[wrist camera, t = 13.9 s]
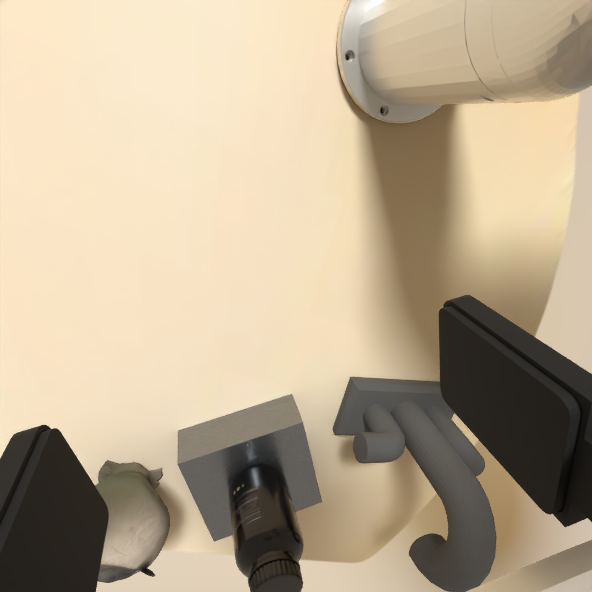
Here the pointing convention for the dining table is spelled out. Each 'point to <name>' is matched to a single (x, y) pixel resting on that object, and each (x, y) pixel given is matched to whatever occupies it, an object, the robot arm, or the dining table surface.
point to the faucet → (427, 470)
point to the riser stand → (246, 457)
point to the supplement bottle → (265, 530)
